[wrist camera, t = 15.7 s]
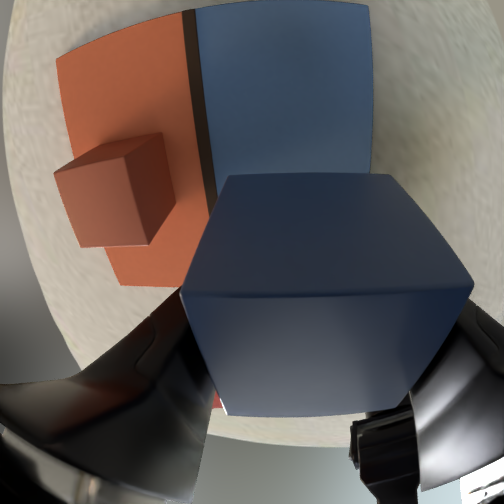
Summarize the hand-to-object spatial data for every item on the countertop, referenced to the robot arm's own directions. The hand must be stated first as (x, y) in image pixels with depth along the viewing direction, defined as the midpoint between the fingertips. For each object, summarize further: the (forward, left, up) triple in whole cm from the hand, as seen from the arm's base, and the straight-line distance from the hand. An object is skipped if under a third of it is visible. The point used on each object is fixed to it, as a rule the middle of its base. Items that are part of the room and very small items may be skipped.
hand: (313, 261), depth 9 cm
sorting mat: (0, +5, -10) cm, 11 cm away
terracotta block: (0, +10, -9) cm, 14 cm away
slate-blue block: (0, 0, -1) cm, 1 cm away
